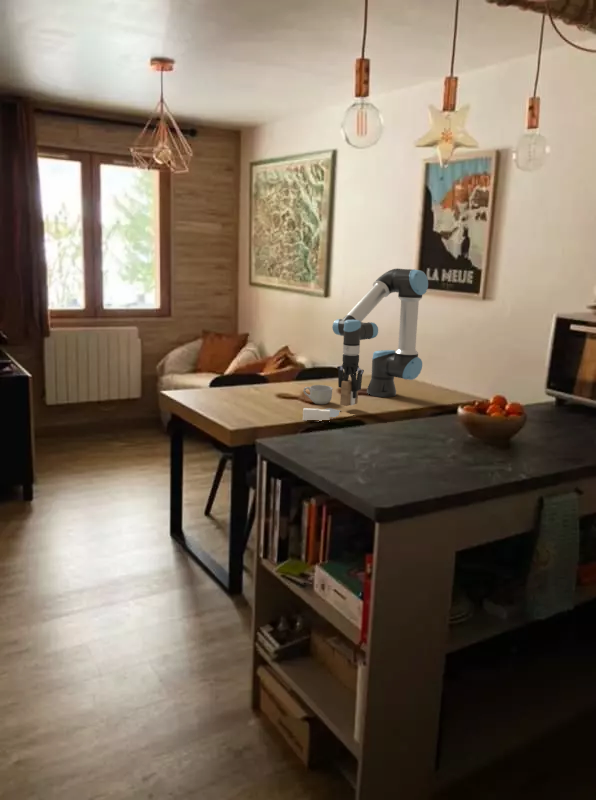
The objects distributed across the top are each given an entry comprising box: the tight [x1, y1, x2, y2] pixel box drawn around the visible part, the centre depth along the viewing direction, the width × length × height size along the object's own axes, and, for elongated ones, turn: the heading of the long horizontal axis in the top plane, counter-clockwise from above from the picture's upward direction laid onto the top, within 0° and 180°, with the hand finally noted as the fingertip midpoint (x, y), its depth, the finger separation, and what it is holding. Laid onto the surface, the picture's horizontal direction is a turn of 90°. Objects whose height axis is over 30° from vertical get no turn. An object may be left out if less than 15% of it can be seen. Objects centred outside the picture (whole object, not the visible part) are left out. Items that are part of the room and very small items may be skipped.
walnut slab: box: [339, 379, 359, 407], centre depth 312 cm, size 9×4×11 cm, turn 141°
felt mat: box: [323, 407, 341, 417], centre depth 305 cm, size 14×16×1 cm
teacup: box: [303, 384, 334, 405], centre depth 326 cm, size 14×11×8 cm
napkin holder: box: [302, 407, 331, 422], centre depth 292 cm, size 15×11×6 cm
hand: (348, 403), depth 314 cm, fingers closed on walnut slab, 3 cm apart
